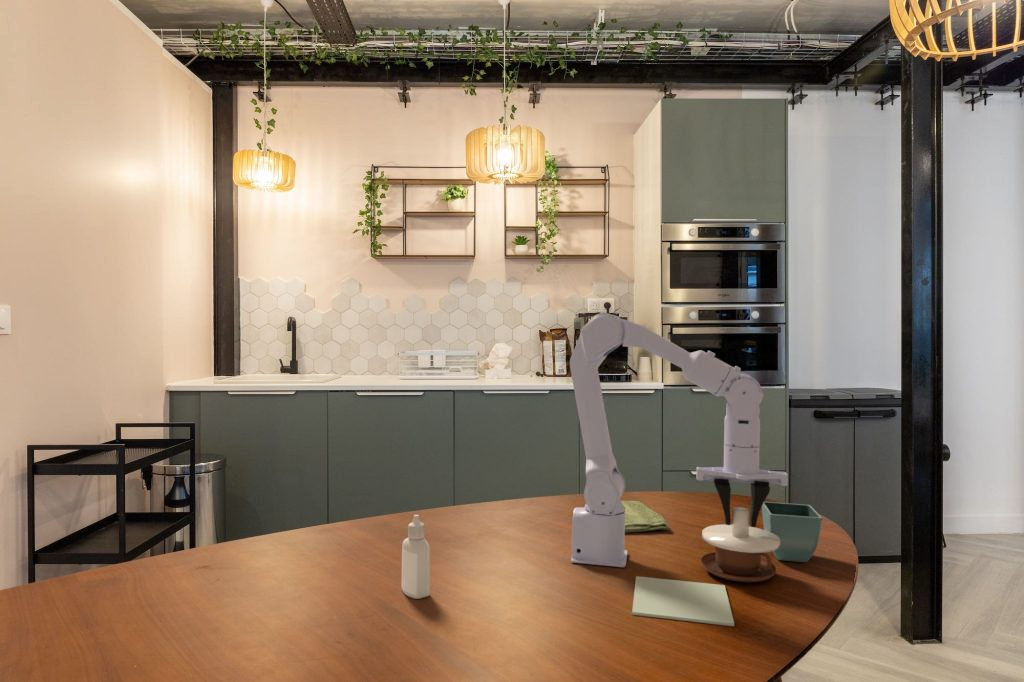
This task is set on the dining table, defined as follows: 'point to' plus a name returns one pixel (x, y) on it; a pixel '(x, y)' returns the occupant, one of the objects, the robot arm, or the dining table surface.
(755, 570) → the cup and saucer
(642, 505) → the washcloth
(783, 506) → the flower pot
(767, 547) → the lid
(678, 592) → the plate
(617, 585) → the dining table surface
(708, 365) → the robot arm
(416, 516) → the eye dropper bottle
